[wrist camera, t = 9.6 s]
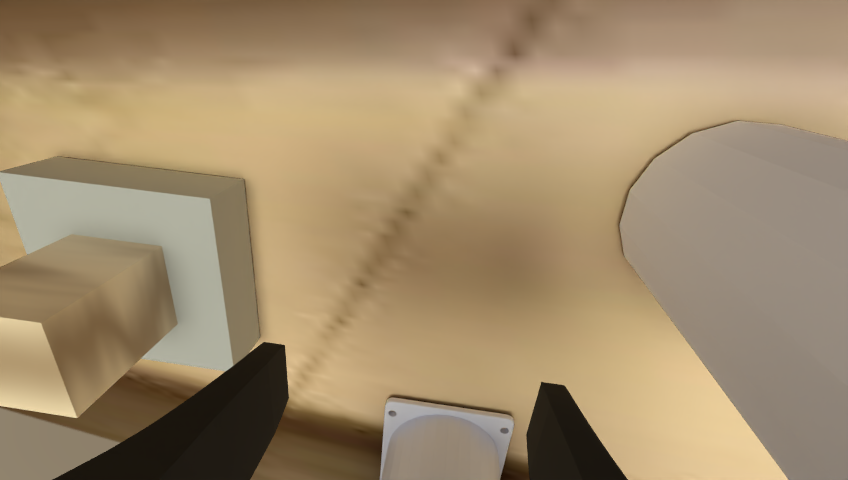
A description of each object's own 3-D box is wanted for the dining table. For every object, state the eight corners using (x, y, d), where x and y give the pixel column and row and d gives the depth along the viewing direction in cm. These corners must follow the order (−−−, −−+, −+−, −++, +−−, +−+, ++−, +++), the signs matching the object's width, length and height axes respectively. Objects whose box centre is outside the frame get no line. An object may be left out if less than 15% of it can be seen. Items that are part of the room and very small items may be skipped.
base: (259, 337, 25) (234, 372, 22) (104, 315, 26) (60, 346, 23) (244, 179, 21) (209, 198, 18) (57, 156, 21) (-4, 171, 19)
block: (177, 324, 21) (77, 417, 16) (95, 312, 21) (-32, 400, 16) (161, 246, 19) (40, 323, 14) (71, 234, 20) (-82, 305, 14)
